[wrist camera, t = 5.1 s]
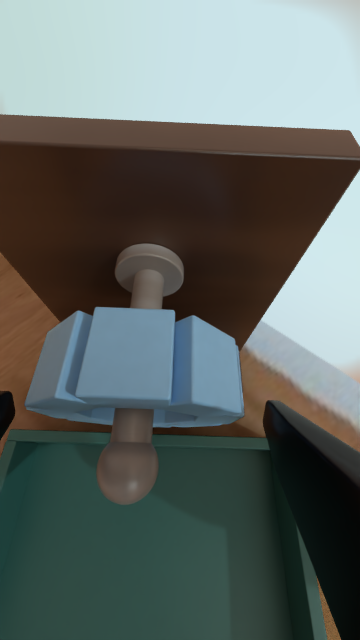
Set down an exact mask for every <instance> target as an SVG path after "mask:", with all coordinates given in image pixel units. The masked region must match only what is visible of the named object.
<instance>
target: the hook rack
mask: <svg viewBox="0 0 360 640" xmlns="http://www.w3.org/2000/svg"><path fill="white" fill-rule="evenodd" d="M359 170H360V146H359V145H358V143H357V142H356V140H355V138H354V136H353V135H352V133H351V132H350V131H349V130H327V129H305V128H284V127H263V126H241V125H218V124H197V123H174V122H154V121H153V122H151V121H132V120H110V119H88V118H65V117H43V116H23V115H0V252H1V253H2V255H3V256H4V257H5V258H6V259H7V260H8V262H9V263H10V264H11V265H12V266H13V267H14V269H15V270H16V271H17V272H18V273H19V274H20V276H21V277H22V278H23V279H24V280H25V281H26V283H27V284H28V285H29V286H30V287H31V288H32V290H33V291H34V292H35V293H36V294H37V295H38V297H39V298H40V299H41V300H42V301H43V302H44V304H45V305H46V306H47V307H48V308H49V309H50V311H51V312H52V313H53V314H54V315H55V316H56V318H57V319H58V320H59V321H60V322H62V321H64V320H65V319H66V318H68V317H69V316H71V315H72V314H73V313H75V312H76V311H82V312H84V313H87V314H89V315H91V316H93V314H94V310H95V307H113V308H139V309H164V310H174V311H175V322H177V321H180V320H182V319H184V318H187V317H189V316H191V315H194V316H196V317H198V318H200V319H201V320H203V321H205V322H207V323H208V324H210V325H212V326H213V327H215V328H217V329H219V330H220V331H222V332H224V333H226V334H227V335H229V336H231V337H232V338H234V339H235V345H237V346H238V350H239V352H240V350H241V349H242V347H243V346H244V344H245V343H246V341H247V340H248V338H249V337H250V335H251V334H252V332H253V331H254V329H255V327H256V326H257V324H258V323H259V321H260V320H261V318H262V317H263V315H264V314H265V312H266V311H267V309H268V308H269V306H270V305H271V303H272V302H273V300H274V298H275V297H276V295H277V294H278V293H279V291H280V290H281V288H282V286H283V285H284V284H285V282H286V281H287V279H288V278H289V276H290V275H291V273H292V271H293V270H294V268H295V267H296V265H297V264H298V262H299V261H300V259H301V258H302V256H303V255H304V253H305V252H306V250H307V249H308V247H309V246H310V244H311V243H312V241H313V239H314V238H315V237H316V235H317V233H318V232H319V231H320V229H321V227H322V226H323V225H324V223H325V221H326V220H327V218H328V217H329V215H330V214H331V212H332V211H333V209H334V208H335V206H336V204H337V203H338V202H339V200H340V199H341V197H342V195H343V194H344V193H345V191H346V190H347V188H348V187H349V185H350V184H351V182H352V181H353V179H354V178H355V176H356V175H357V173H358V172H359ZM239 361H240V353H239ZM240 372H241V363H240ZM241 383H242V374H241ZM242 393H243V385H242ZM153 419H154V409H133V408H115V411H114V418H113V425H112V431H111V438H110V442H109V443H108V444H107V445H106V447H105V448H104V449H103V451H102V453H101V455H100V457H99V460H98V463H97V469H96V477H97V483H98V486H99V488H100V490H101V492H102V494H103V495H104V496H105V497H106V498H107V499H108V500H110V501H111V502H113V503H116V504H120V505H129V504H133V503H135V502H137V501H139V500H141V499H142V498H144V497H145V496H146V495H147V494H148V493H149V492H150V490H151V489H152V487H153V486H154V484H155V482H156V479H157V475H158V469H159V461H158V456H157V452H156V450H155V448H154V446H153V445H152V432H153Z"/></svg>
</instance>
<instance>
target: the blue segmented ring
mask: <svg viewBox="0 0 360 640" xmlns="http://www.w3.org/2000/svg"><path fill="white" fill-rule="evenodd" d="M24 405H25V407H26V409H27V410H30V411H34V412H37V413H40V414H44V415H47V416H50V417H54V418H63V419H67V420H70V421H79V422H88V423H98V424H107V425H113V418H114V411H115V408H133V409H154V419H153V427H171V426H175V427H201V426H219V425H221V424H230V423H232V422H234V421H236V420H238V419H240V418H242V417H244V404H243V394H242V383H241V372H240V361H239V350H238V346H237V345H235V339H234V338H232V337H231V336H229V335H227V334H226V333H224V332H222V331H220V330H219V329H217V328H215V327H213V326H212V325H210V324H208V323H207V322H205V321H203V320H201V319H200V318H198V317H196V316H194V315H191V316H189V317H187V318H184V319H182V320H180V321H177V322H175V311H174V310H164V309H139V308H113V307H95V310H94V314H93V316H91V315H89V314H87V313H84V312H82V311H76V312H75V313H73V314H72V315H71V316H69V317H68V318H66V319H65V320H64V321H62V322H61V323H60V324H58V325H57V326H55V327H54V328H53V329H51V330H50V331H48V332H47V336H46V339H45V342H44V345H43V348H42V351H41V354H40V357H39V360H38V363H37V367H36V370H35V373H34V376H33V379H32V382H31V385H30V388H29V391H28V394H27V398H26V401H25V404H24Z"/></svg>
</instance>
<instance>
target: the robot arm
mask: <svg viewBox="0 0 360 640" xmlns="http://www.w3.org/2000/svg"><path fill="white" fill-rule="evenodd" d="M14 416H15V406H14V401H13V395H12V393H11V392H9V391H0V440H1V438H2V437H3V435H4V433H5V432H6V430H7V429H8V427H9V425H10V424H11V422H12V420H13V419H14ZM263 427H264V431H265V434H266V438H267V442H268V445H269V449H270V453H271V456H272V460H273V463H274V467H275V470H276V473H277V475H278V478H279V481H280V483H281V486H282V488H283V491H284V494H285V496H286V499H287V501H288V504H289V506H290V509H291V511H292V514H293V517H294V519H295V522H296V524H297V527H298V529H299V532H300V535H301V537H302V540H303V542H304V545H305V547H306V550H307V553H308V555H309V558H310V560H311V563H312V565H313V568H314V570H315V573H316V576H317V578H318V581H319V583H320V586H321V588H322V591H323V594H324V596H325V599H326V601H327V604H328V606H329V609H330V611H331V614H332V617H333V619H334V622H335V624H336V627H337V629H338V632H339V635H340V637H341V640H360V452H358V451H357V450H355V449H353V448H352V447H350V446H349V445H347V444H346V443H344V442H343V441H341V440H339V439H338V438H336V437H335V436H333V435H332V434H330V433H328V432H327V431H325V430H324V429H322V428H321V427H319V426H318V425H316V424H314V423H313V422H311V421H310V420H308V419H307V418H305V417H303V416H302V415H300V414H299V413H297V412H296V411H294V410H293V409H291V408H289V407H288V406H286V405H285V404H283V403H282V402H280V401H274V400H268V401H267V402H266V405H265V411H264V417H263Z"/></svg>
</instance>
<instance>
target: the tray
mask: <svg viewBox="0 0 360 640" xmlns="http://www.w3.org/2000/svg"><path fill="white" fill-rule="evenodd" d="M110 438H111V433H110V432H81V431H51V430H22V429H11V430H10V431H9V435H8V438H7V441H6V443H5V446H4V449H3V452H2V455H1V458H0V640H327V635H326V629H325V624H324V618H323V612H322V606H321V601H320V595H319V589H318V583H317V577H316V573H315V570H314V568H313V565H312V563H311V560H310V558H309V555H308V553H307V550H306V547H305V545H304V542H303V540H302V537H301V535H300V532H299V529H298V527H297V524H296V522H295V519H294V517H293V514H292V511H291V509H290V506H289V504H288V501H287V499H286V496H285V494H284V491H283V488H282V486H281V483H280V481H279V478H278V475H277V473H276V470H275V467H274V463H273V460H272V456H271V453H270V449H269V445H268V442H267V438H257V437H228V436H198V435H169V434H152V445H153V446H154V448H155V450H156V452H157V456H158V461H159V469H158V475H157V479H156V482H155V484H154V486H153V487H152V489H151V490H150V492H149V493H148V494H147V495H146V496H145V497H144V498H142V499H141V500H139V501H137V502H135V503H133V504H129V505H120V504H116V503H113V502H111V501H110V500H108V499H107V498H106V497H105V496H104V495H103V494H102V492H101V490H100V488H99V486H98V483H97V477H96V469H97V463H98V460H99V457H100V455H101V453H102V451H103V449H104V448H105V447H106V445H107V444H108V443H109V442H110Z"/></svg>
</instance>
